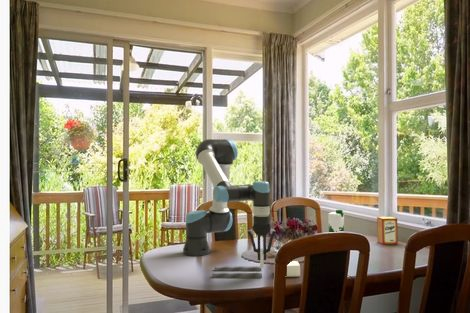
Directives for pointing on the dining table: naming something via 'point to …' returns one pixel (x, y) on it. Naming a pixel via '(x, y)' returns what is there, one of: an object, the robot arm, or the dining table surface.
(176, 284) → the dining table surface
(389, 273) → the dining table surface
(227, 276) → the twin grey rails
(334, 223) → the milk carton
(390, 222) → the baking soda box
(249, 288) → the dining table surface
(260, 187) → the robot arm
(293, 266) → the cream block
